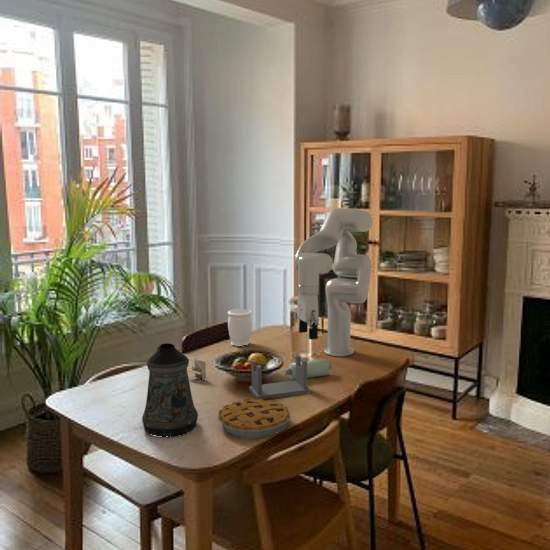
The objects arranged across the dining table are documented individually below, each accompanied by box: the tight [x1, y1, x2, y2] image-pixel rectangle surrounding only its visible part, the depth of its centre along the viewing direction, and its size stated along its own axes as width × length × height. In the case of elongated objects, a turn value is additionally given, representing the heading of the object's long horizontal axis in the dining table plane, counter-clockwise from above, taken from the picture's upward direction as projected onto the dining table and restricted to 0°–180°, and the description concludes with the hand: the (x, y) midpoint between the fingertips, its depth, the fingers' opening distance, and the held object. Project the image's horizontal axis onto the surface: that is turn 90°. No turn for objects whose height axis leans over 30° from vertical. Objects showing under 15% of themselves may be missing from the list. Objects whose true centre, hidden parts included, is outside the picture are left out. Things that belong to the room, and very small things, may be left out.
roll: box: [284, 358, 333, 381], centre depth 217 cm, size 6×18×6 cm, turn 109°
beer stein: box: [141, 342, 199, 438], centre depth 175 cm, size 16×19×25 cm
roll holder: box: [248, 354, 311, 400], centre depth 202 cm, size 10×19×11 cm, turn 109°
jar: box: [227, 308, 253, 347], centre depth 258 cm, size 11×10×15 cm
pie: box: [217, 398, 291, 439], centre depth 176 cm, size 22×22×5 cm
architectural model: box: [187, 358, 207, 382], centre depth 216 cm, size 3×7×7 cm, turn 52°
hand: (308, 335), depth 214 cm, fingers open, 9 cm apart
